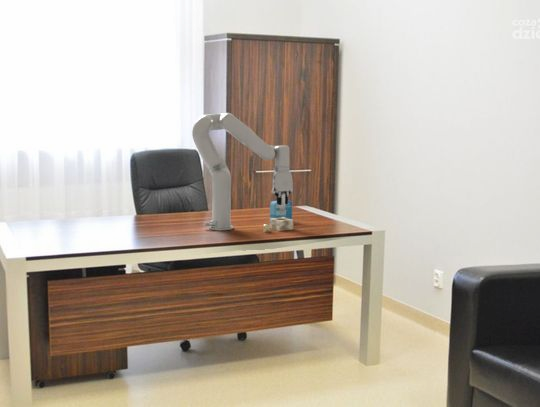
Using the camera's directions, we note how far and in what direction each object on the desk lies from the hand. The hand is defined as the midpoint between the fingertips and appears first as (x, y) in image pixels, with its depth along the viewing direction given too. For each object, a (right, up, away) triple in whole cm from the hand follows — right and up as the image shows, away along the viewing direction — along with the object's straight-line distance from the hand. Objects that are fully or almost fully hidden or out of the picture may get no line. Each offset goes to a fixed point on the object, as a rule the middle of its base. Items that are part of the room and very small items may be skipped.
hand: (282, 203), depth 377 cm
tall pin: (0, -3, 0) cm, 3 cm away
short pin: (-8, -14, -7) cm, 18 cm away
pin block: (-1, -13, +2) cm, 13 cm away
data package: (0, -10, +20) cm, 22 cm away
